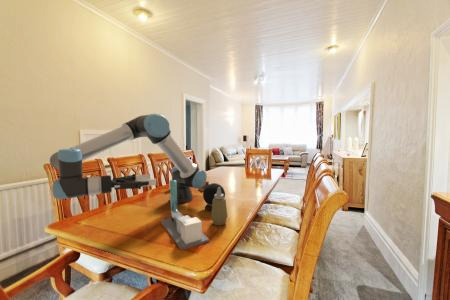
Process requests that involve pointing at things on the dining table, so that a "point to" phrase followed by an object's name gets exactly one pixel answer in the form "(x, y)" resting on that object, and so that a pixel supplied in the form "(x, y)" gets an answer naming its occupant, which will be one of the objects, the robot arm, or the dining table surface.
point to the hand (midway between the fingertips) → (152, 179)
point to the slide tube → (174, 201)
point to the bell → (204, 186)
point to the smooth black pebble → (211, 194)
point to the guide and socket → (185, 231)
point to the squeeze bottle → (219, 208)
